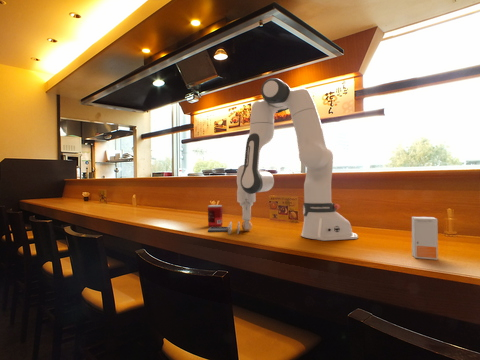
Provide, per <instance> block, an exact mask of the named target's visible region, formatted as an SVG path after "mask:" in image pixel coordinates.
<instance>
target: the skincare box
mask: <svg viewBox="0 0 480 360" xmlns="http://www.w3.org/2000/svg"><path fill="white" fill-rule="evenodd" d="M438 222H439V220H438V218H436V217H434V216H411V256H413V258H415V259H421V260H423V259H424V260H435V261H438V259H439V257H438V256H439V250H438V249H439V242H438V240H439V239H438V238H439V237H438V234H439V233H438V230H439V229H438V228H439V227H438V224H439V223H438Z"/></svg>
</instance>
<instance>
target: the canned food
mask: <svg viewBox="0 0 480 360" xmlns="http://www.w3.org/2000/svg"><path fill="white" fill-rule="evenodd" d="M207 223H208V228H210V227H223V205H222V204H210V205H207Z"/></svg>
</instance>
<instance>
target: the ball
mask: <svg viewBox="0 0 480 360" xmlns="http://www.w3.org/2000/svg"><path fill="white" fill-rule="evenodd" d="M252 228H253V224H252V221H251V220H249V229H245V220H243V222H242V224H241V229H242V230H243V231H245V232H249V231H251V230H252Z"/></svg>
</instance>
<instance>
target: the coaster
mask: <svg viewBox="0 0 480 360" xmlns="http://www.w3.org/2000/svg"><path fill="white" fill-rule="evenodd" d="M228 231H229V226H220V227H208V229H207V233H225V232H226V233H228Z"/></svg>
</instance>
